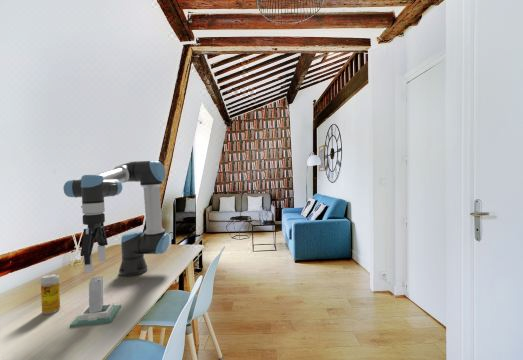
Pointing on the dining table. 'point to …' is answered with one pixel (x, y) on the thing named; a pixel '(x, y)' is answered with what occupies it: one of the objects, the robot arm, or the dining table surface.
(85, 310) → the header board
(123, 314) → the dining table surface
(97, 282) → the skincare box
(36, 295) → the dining table surface
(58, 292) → the beer can
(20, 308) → the dining table surface
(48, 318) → the dining table surface
